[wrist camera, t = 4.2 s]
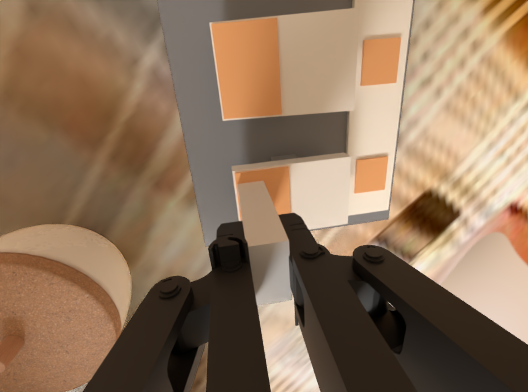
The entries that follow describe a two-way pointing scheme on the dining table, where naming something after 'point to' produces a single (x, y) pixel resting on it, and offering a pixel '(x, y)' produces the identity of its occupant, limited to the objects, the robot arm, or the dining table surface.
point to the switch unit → (294, 126)
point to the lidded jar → (58, 306)
